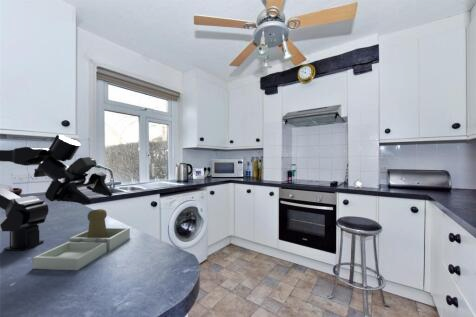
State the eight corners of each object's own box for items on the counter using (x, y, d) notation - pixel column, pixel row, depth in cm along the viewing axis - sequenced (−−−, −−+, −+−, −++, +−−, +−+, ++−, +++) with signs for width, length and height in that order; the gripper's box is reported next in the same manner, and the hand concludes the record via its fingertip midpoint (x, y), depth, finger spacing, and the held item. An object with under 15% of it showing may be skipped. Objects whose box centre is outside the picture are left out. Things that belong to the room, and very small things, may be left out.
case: (66, 250, 61) (66, 238, 61) (94, 237, 72) (94, 226, 72) (108, 251, 60) (108, 239, 60) (129, 237, 71) (129, 227, 71)
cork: (96, 248, 63) (96, 212, 63) (80, 246, 64) (80, 211, 64) (112, 240, 69) (112, 208, 69) (97, 239, 70) (97, 207, 70)
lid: (32, 268, 51) (32, 257, 51) (68, 250, 61) (68, 241, 61) (77, 270, 50) (77, 258, 50) (106, 251, 60) (106, 242, 60)
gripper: (43, 151, 55) (92, 182, 55) (95, 150, 73) (131, 173, 73) (24, 185, 55) (72, 216, 55) (80, 176, 74) (116, 199, 74)
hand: (102, 198), depth 64 cm, fingers open, 9 cm apart
